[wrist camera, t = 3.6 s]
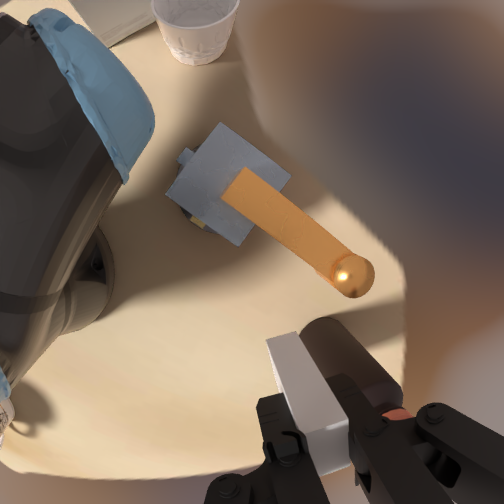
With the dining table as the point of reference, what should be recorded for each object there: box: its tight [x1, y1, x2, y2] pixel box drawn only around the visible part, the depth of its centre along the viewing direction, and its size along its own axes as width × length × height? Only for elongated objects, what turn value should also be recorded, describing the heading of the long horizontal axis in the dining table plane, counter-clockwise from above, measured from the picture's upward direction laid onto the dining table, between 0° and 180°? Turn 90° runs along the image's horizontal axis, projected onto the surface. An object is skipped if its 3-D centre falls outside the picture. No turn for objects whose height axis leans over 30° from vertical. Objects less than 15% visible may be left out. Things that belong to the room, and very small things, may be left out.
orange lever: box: [165, 122, 375, 298], centre depth 24 cm, size 7×17×13 cm, turn 53°
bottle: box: [299, 318, 413, 420], centre depth 28 cm, size 7×7×20 cm
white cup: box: [151, 0, 240, 66], centre depth 24 cm, size 8×8×10 cm
